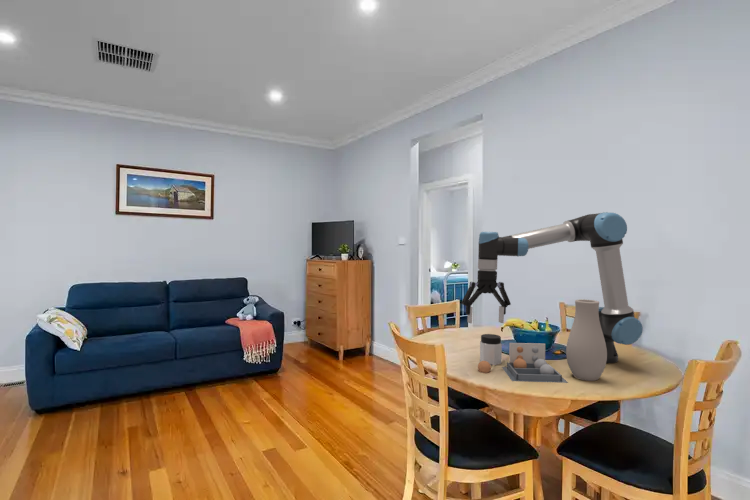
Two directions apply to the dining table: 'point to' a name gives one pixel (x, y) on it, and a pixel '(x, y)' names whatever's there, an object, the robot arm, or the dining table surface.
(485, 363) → the ball
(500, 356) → the jar
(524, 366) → the terracotta ball
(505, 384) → the dining table surface
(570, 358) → the vase
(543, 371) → the grey ball
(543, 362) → the grey ball
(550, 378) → the rack
